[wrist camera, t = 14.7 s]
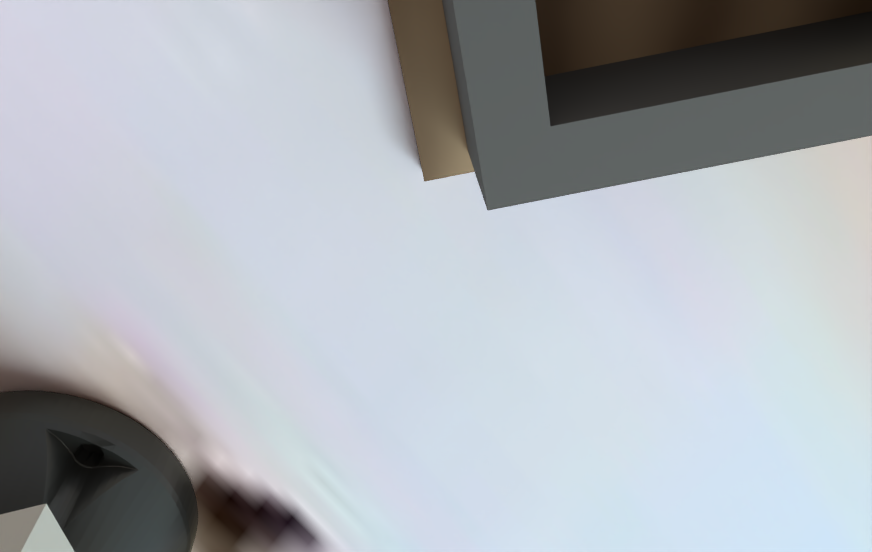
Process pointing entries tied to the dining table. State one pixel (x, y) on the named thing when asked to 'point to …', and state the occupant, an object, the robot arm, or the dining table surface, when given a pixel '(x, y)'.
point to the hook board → (574, 49)
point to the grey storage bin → (647, 102)
